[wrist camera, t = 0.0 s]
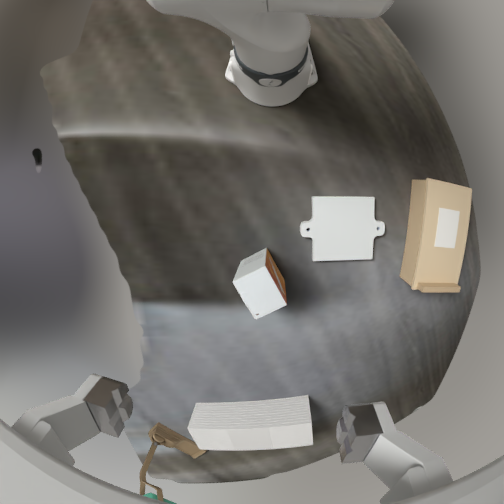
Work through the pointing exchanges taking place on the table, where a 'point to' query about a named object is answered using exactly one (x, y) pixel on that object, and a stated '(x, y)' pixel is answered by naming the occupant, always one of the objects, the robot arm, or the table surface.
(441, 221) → the lid
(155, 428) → the banker's lamp
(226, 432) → the stack of papers
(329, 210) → the mounting plate
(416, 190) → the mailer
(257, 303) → the small box
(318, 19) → the table surface
